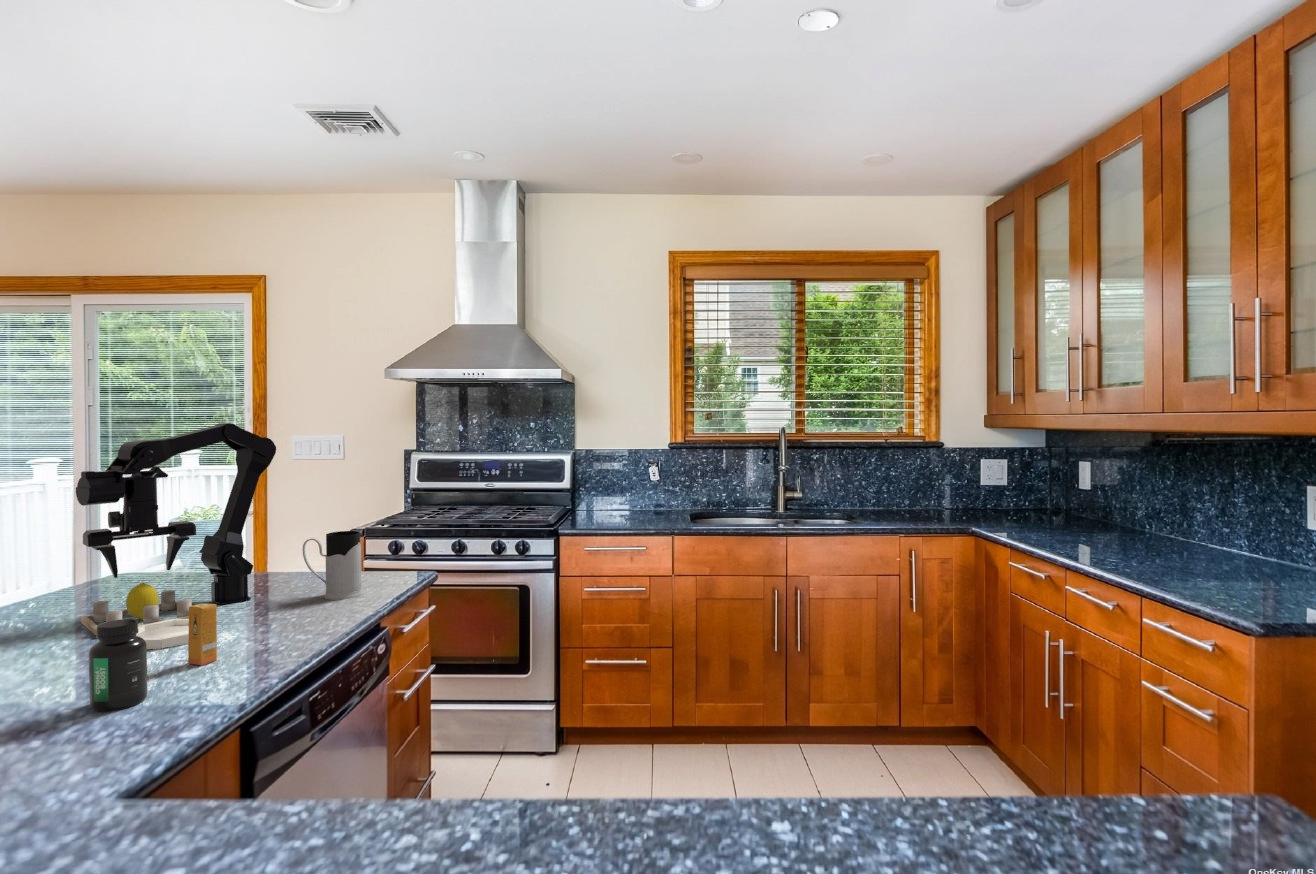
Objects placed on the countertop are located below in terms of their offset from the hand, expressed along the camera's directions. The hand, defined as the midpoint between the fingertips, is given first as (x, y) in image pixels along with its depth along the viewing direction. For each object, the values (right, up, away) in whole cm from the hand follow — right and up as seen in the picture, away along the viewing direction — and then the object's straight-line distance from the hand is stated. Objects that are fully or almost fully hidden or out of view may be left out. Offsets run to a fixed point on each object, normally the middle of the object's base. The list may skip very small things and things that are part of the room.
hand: (142, 573), depth 149 cm
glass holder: (+31, -10, +21) cm, 38 cm away
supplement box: (+30, -11, -26) cm, 41 cm away
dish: (+14, -10, -12) cm, 21 cm away
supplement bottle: (+29, -11, -44) cm, 54 cm away
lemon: (0, -10, 0) cm, 10 cm away
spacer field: (0, -10, 0) cm, 10 cm away
